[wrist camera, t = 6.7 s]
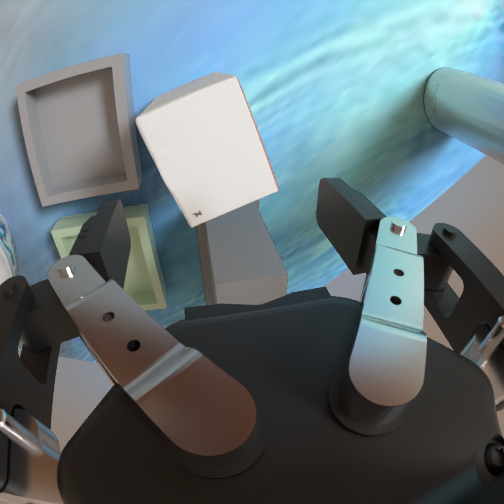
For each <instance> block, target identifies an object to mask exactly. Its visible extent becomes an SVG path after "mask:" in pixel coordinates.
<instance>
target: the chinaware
mask: <svg viewBox="0 0 504 504" xmlns="http://www.w3.org/2000/svg"><path fill="white" fill-rule="evenodd" d="M13 276H17V255H16V249H15V244H14V241H13V238H12V235H11V233H10V230H9V228H8V225H7V223H6V221H5V219H4V218H3V216H2V215H1V214H0V285H1V284H2V283H3V282H4V281H5V280H7V279H9V278H11V277H13Z"/></svg>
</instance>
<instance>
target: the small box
mask: <svg viewBox="0 0 504 504" xmlns="http://www.w3.org/2000/svg"><path fill="white" fill-rule="evenodd" d="M135 123H136V125H137V127H138V130H139V132H140V134H141V136H142V138H143V140H144V142H145V144H146V146H147V148H148V150H149V152H150V154H151V156H152V158H153V160H154V162H155V164H156V166H157V168H158V170H159V172H160V174H161V177H162V179H163V180H164V182H165V184H166V186H167V188H168V189H169V191H170V192H171V194H172V195H173V197H174V199H175V200H176V202H177V204H178V206H179V207H180V209H181V211H182V213H183V215H184V216H185V218H186V220H187V222H188V223H189V225H190V227H192V228H193V227H195V226H197V225H199V224H201V223H204V222H206V221H208V220H211V219H213V218H215V217H218V216H220V215H222V214H225V213H227V212H230V211H232V210H234V209H237V208H239V207H241V206H244V205H246V204H248V203H251V202H253V201H256V200H258V199H260V198H263V197H265V196H268V195H270V194H272V193H275V192H277V191H278V190H279V189H278V185H277V182H276V179H275V176H274V174H273V171H272V168H271V165H270V162H269V159H268V156H267V154H266V151H265V148H264V145H263V143H262V140H261V137H260V135H259V132H258V129H257V126H256V124H255V121H254V118H253V116H252V113H251V111H250V108H249V106H248V103H247V100H246V97H245V95H244V92H243V90H242V87H241V85H240V83H239V80H238V78H237V76H234V75H229V74H224V73H219V72H213V73H210V74H208V75H205V76H203V77H200V78H198V79H195V80H193V81H190V82H188V83H186V84H183V85H181V86H179V87H177V88H174V89H172V90H170V91H168V92H166V93H164V94H161V95H159V96H157V97H156V98H155V99H154V100H153V101H152V102H151V103H150V104H149V105H148V106H147V107H146V108H145V109H144V110H143V112H142V113H141V114H140V115H139V116H138V117H136V118H135Z"/></svg>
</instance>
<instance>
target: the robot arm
mask: <svg viewBox="0 0 504 504" xmlns="http://www.w3.org/2000/svg"><path fill="white" fill-rule="evenodd" d="M424 104H425V111H426V114H427V117H428V119H429V121H430V122H431V124H432V125H433V126H434V127H435V128H436V129H437V130H440V131H442V132H444V133H446V134H448V135H450V136H452V137H454V138H456V139H458V140H459V141H461V142H463V143H465V144H467V145H469V146H471V147H473V148H475V149H477V150H478V151H480V152H482V153H484V154H486V155H487V156H489V157H491V158H493V159H494V160H496V161H498V162H499V163H501V164H503V165H504V83H502V82H499V81H496V80H493V79H489V78H486V77H483V76H479V75H476V74H472V73H469V72H465V71H461V70H457V69H452V68H445V67H444V68H440V69H438V70H437V71H435V72H434V73H433V74H432V75H431V77H430V78H429V80H428V82H427V85H426V88H425V94H424ZM316 217H317V223H318V225H319V227H320V228H321V230H322V231H323V233H324V234H325V235H326V237H327V238H328V239H329V241H330V242H331V244H332V245H333V246H334V248H335V249H336V251H337V252H338V253H339V255H340V256H341V258H342V259H343V261H344V262H345V263H346V265H347V266H348V268H349V269H350V270H351V272H352V274H353V275H355V274H361V273H366V274H367V275H366V278H365V281H364V285H363V290H362V293H361V297H360V301H359V302H358V301H356V300H352V299H348V298H343V297H336V296H330V294H329V292H328V290H327V288H326V287H321V288H315V289H310V290H304V291H298V292H293V293H290V294H288V295H285V296H282V297H280V298H277V299H275V300H272V301H269V302H267V303H264V304H260V305H247V304H223V303H220V304H213V305H205V306H198V307H190V308H185V319H184V320H181V321H179V322H176V323H174V324H172V325H170V326H169V327H167V328H165V329H164V328H163V327H162V326H161V325H160V324H159V323H157V322H156V321H155V320H154V319H153V318H152V317H151V316H150V315H149V314H148V313H147V312H146V311H145V310H144V309H143V308H141V307H140V306H139V305H138V304H137V303H136V302H135V301H134V300H133V299H132V298H131V297H130V296H129V295H128V294H127V293H126V292H125V291H124V290H123V288H124V282H125V277H126V271H127V266H128V260H129V255H130V250H131V239H130V234H129V230H128V225H127V221H126V217H125V213H124V209H123V205H122V202H121V200H120V199H118V200H112V201H106V202H102V203H101V205H100V207H99V209H98V211H97V214H96V216H91V217H90V218H89V219H88V220H87V221H86V222H85V223H84V224H83V225H82V228H81V230H80V233H79V234H78V236H77V239H76V240H75V242H74V245H73V247H72V249H71V251H70V253H69V256H66V257H64V258H62V259H60V260H58V261H57V262H55V263H54V264H53V265H52V266H51V268H50V269H49V271H48V275H47V276H48V279H47V280H44V281H42V282H39V283H37V284H34V285H31V286H29V284H28V282H27V280H26V278H25V277H23V276H13V277H11V278H9V279H7V280H5V281H4V282H3V283H2V284H1V285H0V500H3V501H5V502H8V503H10V504H504V439H503V436H502V433H501V430H500V427H499V423H498V418H497V412H496V411H500V410H502V409H504V276H503V275H502V273H501V272H500V271H499V270H498V269H497V268H496V267H495V266H494V265H493V263H492V262H491V261H490V260H489V259H488V258H487V257H486V256H485V255H484V254H483V253H482V252H481V251H480V250H479V249H478V248H477V247H476V246H475V245H474V244H473V243H472V242H471V241H470V240H469V239H468V238H467V237H466V236H465V235H464V234H463V233H462V232H461V231H460V230H458V229H457V228H455V227H453V226H451V225H448V224H445V223H437V224H435V225H434V226H433V230H432V233H431V235H428V234H421V233H417V231H416V228H415V227H414V226H413V225H412V224H411V223H409V222H408V221H406V220H404V219H401V218H397V217H386V216H385V215H384V214H383V213H382V212H381V211H380V210H379V209H378V208H377V207H376V206H375V205H373V203H371V202H370V201H369V200H368V199H367V198H366V197H365V196H364V195H363V194H362V193H360V192H358V191H356V190H354V189H352V188H351V187H349V186H348V185H347V184H346V183H345V182H344V181H343V180H342V179H340V178H322V179H321V181H320V183H319V192H318V202H317V211H316ZM453 269H454V270H455V271H456V273H457V274H458V275H459V276H460V277H461V279H462V280H463V284H464V290H463V293H462V295H461V297H460V298H459V297H458V296H457V295H456V293H455V292H454V291H453V289H452V288H451V287H450V285H449V284H448V283H447V282H448V280H449V278H450V275H451V273H452V271H453ZM424 305H425V306H426V308H427V309H428V311H429V312H430V314H431V315H432V317H433V319H434V320H435V321H436V323H437V325H438V326H439V328H440V329H441V331H442V332H443V334H444V336H445V337H446V338H447V340H448V341H449V343H450V345H451V347H452V348H453V350H454V351H453V350H451V349H449V348H447V347H445V346H444V345H442V344H440V343H438V342H436V341H434V340H432V339H430V338H428V337H427V336H426V333H424V332H423V314H424ZM78 336H79V337H80V339H81V340H82V342H83V343H84V345H85V346H86V348H87V349H88V351H89V352H90V353H91V355H92V356H93V358H94V359H95V361H96V362H97V363H98V365H99V366H100V367H101V369H102V370H103V371H104V373H105V374H106V376H107V377H108V378H109V380H110V381H111V383H112V384H113V385H114V386H113V387H112V388H111V389H110V391H109V392H108V393H107V394H106V395H105V397H104V398H103V399H102V400H101V402H100V403H99V404H98V405H97V407H96V408H95V409H94V410H93V411H92V413H91V414H90V415H89V416H88V418H87V419H86V420H85V421H84V423H83V424H82V425H81V427H80V428H79V429H78V430H77V432H76V433H75V434H74V435H73V437H72V438H71V439H70V440H69V442H68V443H67V444H66V446H65V447H64V449H63V451H62V453H61V451H60V445H59V441H58V439H57V437H56V435H55V434H54V433H53V432H52V431H51V430H50V429H51V413H52V402H53V392H54V384H55V376H56V369H57V362H58V356H59V350H60V343H62V342H65V341H67V340H70V339H73V338H76V337H78ZM20 339H21V341H22V342H23V347H22V351H21V355H20V358H19V355H18V344H19V341H20Z"/></svg>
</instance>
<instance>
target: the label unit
mask: <svg viewBox="0 0 504 504" xmlns="http://www.w3.org/2000/svg"><path fill="white" fill-rule="evenodd" d="M196 230H197V238H198V245H199V253H200V261H201V268H202V275H203V282H204V289H205V296H206V302H207V305H213V304H220V303H223V304H247V305H260V304H264V303H267V302H269V301H272V300H275V299H277V298H280V297H282V296H285V295H286V292H287V281H288V273H287V271H286V269H285V267H284V265H283V262H282V260H281V258H280V256H279V253H278V251H277V249H276V247H275V245H274V242H273V240H272V238H271V236H270V234H269V232H268V229H267V227H266V225H265V223H264V221H263V218H262V216H261V214H260V212H259V199H258V200H256V201H253V202H251V203H248V204H246V205H244V206H241V207H239V208H237V209H234V210H232V211H230V212H227V213H225V214H222V215H220V216H218V217H215V218H213V219H211V220H208V221H206V222H204V223H201V224H199V225H197V226H196Z"/></svg>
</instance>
